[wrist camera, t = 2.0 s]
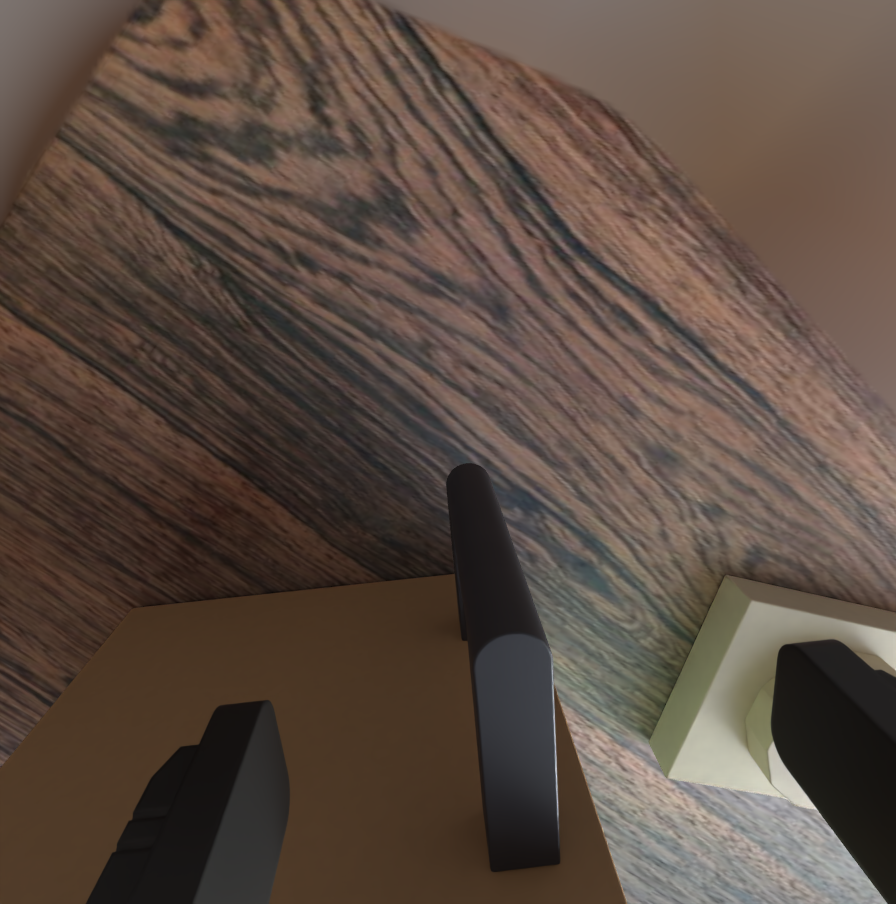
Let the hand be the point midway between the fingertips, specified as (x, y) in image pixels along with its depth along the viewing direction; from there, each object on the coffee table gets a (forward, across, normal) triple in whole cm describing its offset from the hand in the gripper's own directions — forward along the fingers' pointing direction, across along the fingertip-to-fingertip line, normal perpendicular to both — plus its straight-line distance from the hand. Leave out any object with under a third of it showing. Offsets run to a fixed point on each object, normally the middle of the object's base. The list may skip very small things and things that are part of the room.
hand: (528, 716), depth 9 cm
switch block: (+16, -16, +14) cm, 26 cm away
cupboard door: (+15, +6, +3) cm, 17 cm away
